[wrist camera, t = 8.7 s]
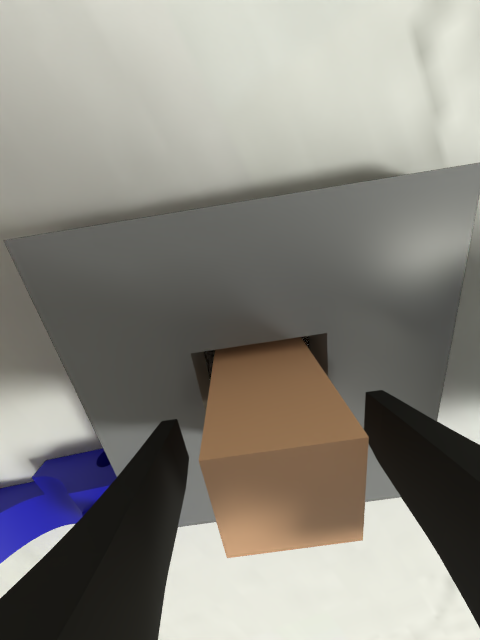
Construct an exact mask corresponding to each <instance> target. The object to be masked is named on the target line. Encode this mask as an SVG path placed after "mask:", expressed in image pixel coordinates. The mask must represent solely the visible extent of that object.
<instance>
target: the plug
mask: <svg viewBox="0 0 480 640" xmlns="http://www.w3.org/2000/svg"><path fill="white" fill-rule="evenodd" d="M368 442H369V437H368V435H367V434H366V432H365V431H364V429H363V428H362V426H361V425H360V423H359V422H358V421H357V419H356V418H355V416H354V415H353V413H352V412H351V410H350V409H349V407H348V406H347V404H346V403H345V401H344V400H343V398H342V397H341V395H340V394H339V393H338V391H337V390H336V388H335V387H334V385H333V384H332V382H331V381H330V379H329V378H328V376H327V375H326V373H325V372H324V370H323V369H322V368H321V366H320V365H319V363H318V362H317V360H316V359H315V357H314V356H313V354H312V353H311V351H310V350H309V348H308V347H307V345H306V344H305V343H304V341H303V340H302V338H301V337H297V338H290V339H284V340H277V341H270V342H264V343H257V344H250V345H244V346H237V347H230V348H224V349H217V350H215V354H214V360H213V367H212V374H211V381H210V388H209V394H208V401H207V408H206V415H205V421H204V428H203V435H202V442H201V449H200V455H199V464H200V467H201V471H202V474H203V477H204V481H205V484H206V488H207V491H208V494H209V498H210V501H211V505H212V508H213V512H214V515H215V518H216V522H217V525H218V529H219V532H220V535H221V539H222V542H223V546H224V549H225V552H226V556H227V558H231V557H239V556H247V555H254V554H262V553H269V552H277V551H285V550H292V549H300V548H308V547H315V546H323V545H331V544H338V543H346V542H353V541H361V540H363V526H364V509H365V492H366V476H367V459H368Z"/></svg>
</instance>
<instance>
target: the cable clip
mask: <svg viewBox="0 0 480 640" xmlns="http://www.w3.org/2000/svg"><path fill="white" fill-rule="evenodd" d="M116 478H117V476H116V474H115V472H114V470H113V468H112V466H111V463H110V461H109V459H108V457H107V455H106V453H105V451H104V449H98V450H93V451H88V452H83V453H79V454H74V455H69V456H64V457H60V458H55V459H50V460H46V461H45V462H44V463H43V464H42V466H41V467H40V468H39V469H38V471H37V472H36V473H35V474H34V475H33V477H32V479H33V480H34V482H29V483H24V484H19V485H14V486H9V487H4V488H0V563H2V562H3V561H4V560H5V559H7V558H8V557H9V556H10V555H12V554H13V553H14V552H16V551H17V550H18V549H20V548H21V547H23V546H24V545H26V544H27V543H29V542H30V541H32V540H33V539H35V538H37V537H39V536H40V535H42V534H44V533H46V532H48V531H50V530H53V529H55V528H58V527H61V526H64V525H69V524H76V523H77V522H78V521H79V520H80V519H81V518H82V517H83V516H84V515H85V513H86V512H87V511H88V510H89V509H90V508H91V507H92V506H93V505H94V503H95V502H96V501H97V500H98V499H99V498H100V496H101V495H102V494H103V493H104V492H105V491H106V489H107V488H108V487H109V486H110V485H111V484H112V482H113V481H114V480H115V479H116Z"/></svg>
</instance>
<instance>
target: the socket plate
mask: <svg viewBox="0 0 480 640" xmlns="http://www.w3.org/2000/svg"><path fill="white" fill-rule="evenodd" d="M479 194H480V163H474V164H468V165H462V166H456V167H450V168H444V169H438V170H431V171H425V172H419V173H413V174H407V175H401V176H395V177H389V178H382V179H376V180H370V181H364V182H358V183H352V184H346V185H340V186H333V187H327V188H321V189H315V190H309V191H303V192H297V193H290V194H284V195H278V196H272V197H266V198H260V199H254V200H248V201H241V202H235V203H229V204H223V205H217V206H211V207H205V208H199V209H192V210H186V211H180V212H174V213H168V214H162V215H156V216H150V217H143V218H137V219H131V220H125V221H119V222H113V223H107V224H101V225H94V226H88V227H82V228H76V229H70V230H64V231H58V232H51V233H45V234H39V235H33V236H27V237H21V238H15V239H9V240H3V241H4V243H5V245H6V247H7V249H8V251H9V253H10V255H11V257H12V259H13V261H14V264H15V266H16V268H17V270H18V272H19V274H20V276H21V278H22V280H23V282H24V284H25V286H26V289H27V291H28V293H29V295H30V297H31V299H32V301H33V303H34V305H35V307H36V309H37V311H38V314H39V316H40V318H41V320H42V322H43V324H44V326H45V328H46V330H47V332H48V334H49V336H50V339H51V341H52V343H53V345H54V347H55V349H56V351H57V353H58V355H59V357H60V359H61V361H62V364H63V366H64V368H65V370H66V372H67V374H68V376H69V378H70V380H71V382H72V384H73V386H74V389H75V391H76V393H77V395H78V397H79V399H80V401H81V403H82V405H83V407H84V409H85V411H86V414H87V416H88V418H89V420H90V422H91V424H92V426H93V428H94V430H95V432H96V434H97V436H98V439H99V441H100V443H101V445H102V447H103V449H104V451H105V453H106V455H107V457H108V459H109V461H110V463H111V466H112V468H113V470H114V472H115V474H116V476H117V477H118V475H119V474H120V473H121V472H122V470H123V469H124V468H125V467H126V465H127V464H128V463H129V462H130V461H131V459H132V458H133V457H134V456H135V454H136V453H137V452H138V450H139V449H140V448H141V447H142V445H143V444H144V443H145V441H146V440H147V439H148V438H149V436H150V435H151V434H152V433H153V431H154V430H155V429H156V427H157V426H158V425H159V424H160V422H161V421H165V420H172V419H177V420H178V423H179V426H180V429H181V433H182V436H183V439H184V442H185V446H186V449H187V452H188V455H189V465H188V475H187V484H186V490H185V495H184V500H183V505H182V510H181V514H180V519H179V524H178V527H182V526H189V525H197V524H204V523H212V522H216V518H215V515H214V512H213V508H212V505H211V501H210V498H209V494H208V491H207V488H206V484H205V481H204V477H203V474H202V471H201V467H200V464H199V455H200V449H201V442H202V435H203V428H204V421H205V415H206V408H207V401H208V394H209V388H210V377H209V372H208V368H207V364H206V359H205V355H204V351H210V350H217V349H224V348H230V347H237V346H244V345H250V344H257V343H264V342H270V341H277V340H284V339H290V338H297V337H304V336H309V345H310V351H311V353H312V354H313V356H314V357H315V359H316V360H317V362H318V363H319V365H320V366H321V368H322V369H323V370H324V372H325V373H326V375H327V376H328V378H329V379H330V381H331V382H332V384H333V385H334V387H335V388H336V390H337V391H338V393H339V394H340V395H341V397H342V398H343V400H344V401H345V403H346V404H347V406H348V407H349V409H350V410H351V412H352V413H353V415H354V416H355V418H356V419H357V421H358V422H359V423H360V425H361V426H362V428H363V429H364V416H365V395H366V392H371V391H378V390H383V391H385V392H387V393H389V394H390V395H392V396H394V397H396V398H397V399H399V400H401V401H403V402H404V403H406V404H408V405H409V406H411V407H413V408H415V409H416V410H418V411H420V412H421V413H423V414H425V415H427V416H428V417H430V418H432V419H434V420H435V421H437V417H438V412H439V407H440V402H441V396H442V391H443V386H444V380H445V375H446V370H447V364H448V359H449V354H450V348H451V343H452V338H453V332H454V327H455V322H456V316H457V311H458V306H459V300H460V295H461V290H462V284H463V279H464V274H465V268H466V263H467V258H468V253H469V247H470V242H471V237H472V231H473V226H474V221H475V215H476V210H477V205H478V199H479ZM398 497H401V496H400V495H399V493H398V492H397V490H396V489H395V487H394V485H393V484H392V482H391V481H390V479H389V478H388V476H387V475H386V473H385V472H384V470H383V469H382V467H381V466H380V464H379V462H378V461H377V459H376V457H375V455H374V453H373V451H372V449H371V447H370V445H369V443H368V459H367V476H366V492H365V502H368V501H376V500H383V499H390V498H398Z"/></svg>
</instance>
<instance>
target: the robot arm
mask: <svg viewBox="0 0 480 640" xmlns="http://www.w3.org/2000/svg"><path fill="white" fill-rule="evenodd" d="M364 431H365V432H366V434H367V435H368V437H369V442H368V443H369V445H370V447H371V449H372V451H373V453H374V455H375V457H376V459H377V461H378V462H379V464H380V466H381V467H382V469H383V470H384V472H385V473H386V475H387V476H388V478H389V479H390V481H391V482H392V484H393V485H394V487H395V489H396V490H397V492H398V493H399V495H400V496H401V498H402V499H403V501H404V502H405V504H406V505H407V507H408V508H409V510H410V511H411V513H412V514H413V516H414V517H415V519H416V520H417V522H418V523H419V525H420V526H421V528H422V529H423V531H424V532H425V534H426V535H427V537H428V538H429V540H430V542H431V543H432V545H433V546H434V548H435V550H436V551H437V553H438V554H439V556H440V558H441V560H442V561H443V563H444V565H445V567H446V568H447V570H448V572H449V574H450V575H451V577H452V579H453V581H454V582H455V584H456V586H457V588H458V590H459V591H460V593H461V595H462V597H463V598H464V600H465V602H466V604H467V606H468V607H469V609H470V611H471V613H472V615H473V616H474V618H475V620H476V622H477V624H478V626H479V627H480V445H479V444H477V443H475V442H473V441H471V440H469V439H468V438H466V437H464V436H462V435H460V434H458V433H457V432H455V431H453V430H451V429H449V428H448V427H446V426H444V425H442V424H441V423H439V422H437V421H435V420H434V419H432V418H430V417H428V416H427V415H425V414H423V413H421V412H420V411H418V410H416V409H415V408H413V407H411V406H409V405H408V404H406V403H404V402H403V401H401V400H399V399H397V398H396V397H394V396H392V395H390V394H389V393H387V392H385V391H383V390H378V391H371V392H366V395H365V416H364ZM188 465H189V455H188V452H187V449H186V446H185V442H184V439H183V436H182V433H181V429H180V426H179V423H178V420H177V419H172V420H165V421H161V422H160V424H159V425H158V426H157V427H156V429H155V430H154V431H153V433H152V434H151V435H150V436H149V438H148V439H147V440H146V441H145V443H144V444H143V445H142V447H141V448H140V449H139V450H138V452H137V453H136V454H135V456H134V457H133V458H132V459H131V461H130V462H129V463H128V464H127V465H126V467H125V468H124V469H123V470H122V472H121V473H120V474H119V475H118V477H117V478H116V479H115V480H114V481H113V482H112V484H111V485H110V486H109V487H108V488H107V489H106V491H105V492H104V493H103V494H102V495H101V496H100V498H99V499H98V500H97V501H96V502H95V503H94V505H93V506H92V507H91V508H90V509H89V510H88V511H87V512H86V513H85V515H84V516H83V517H82V518H81V519H80V520H79V521H78V522H77V523H76V524H75V525H74V526H73V528H72V529H71V530H70V531H69V532H68V533H67V534H66V535H65V536H64V537H63V538H62V539H61V540H60V541H59V542H58V543H57V544H56V545H55V546H54V547H53V548H52V549H51V550H50V551H49V552H48V553H47V554H46V555H45V556H44V557H43V558H42V559H41V560H40V561H39V562H38V563H37V564H36V565H35V566H34V567H33V568H32V569H31V570H30V571H29V572H28V573H27V574H26V575H25V576H23V577H22V578H21V579H20V580H19V581H18V582H17V583H16V584H15V585H14V586H13V587H12V588H11V589H10V590H9V591H8V592H7V593H6V594H5V595H4V596H3V597H2V598H0V640H158V634H159V627H160V620H161V613H162V606H163V599H164V592H165V586H166V581H167V576H168V570H169V565H170V561H171V556H172V551H173V547H174V542H175V538H176V533H177V528H178V524H179V519H180V514H181V510H182V505H183V500H184V495H185V490H186V484H187V475H188Z"/></svg>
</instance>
